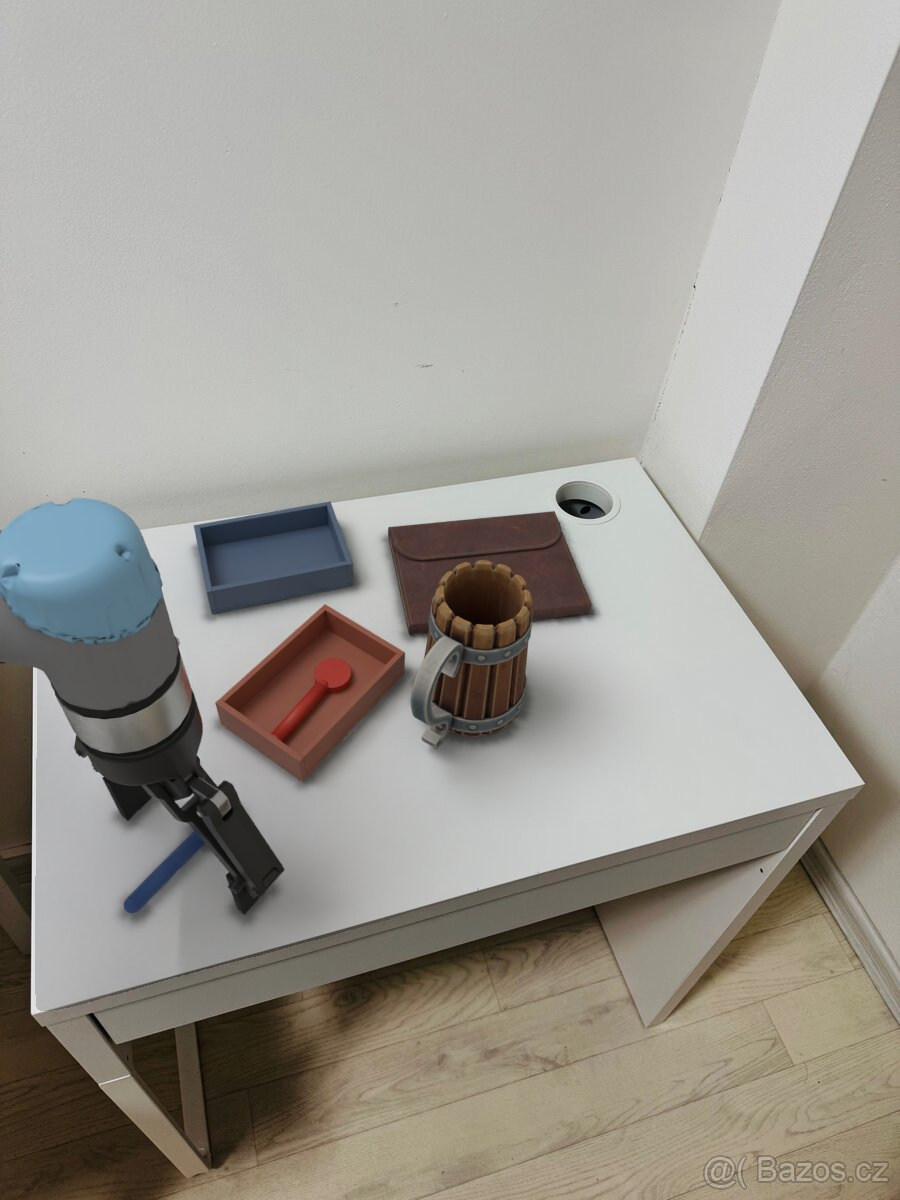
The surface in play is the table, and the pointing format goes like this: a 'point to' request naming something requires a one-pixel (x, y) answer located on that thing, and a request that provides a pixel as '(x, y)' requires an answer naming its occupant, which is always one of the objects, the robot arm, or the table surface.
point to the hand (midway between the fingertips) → (193, 851)
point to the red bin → (291, 676)
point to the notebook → (505, 540)
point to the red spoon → (316, 694)
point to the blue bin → (272, 556)
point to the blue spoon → (163, 873)
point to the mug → (474, 653)
